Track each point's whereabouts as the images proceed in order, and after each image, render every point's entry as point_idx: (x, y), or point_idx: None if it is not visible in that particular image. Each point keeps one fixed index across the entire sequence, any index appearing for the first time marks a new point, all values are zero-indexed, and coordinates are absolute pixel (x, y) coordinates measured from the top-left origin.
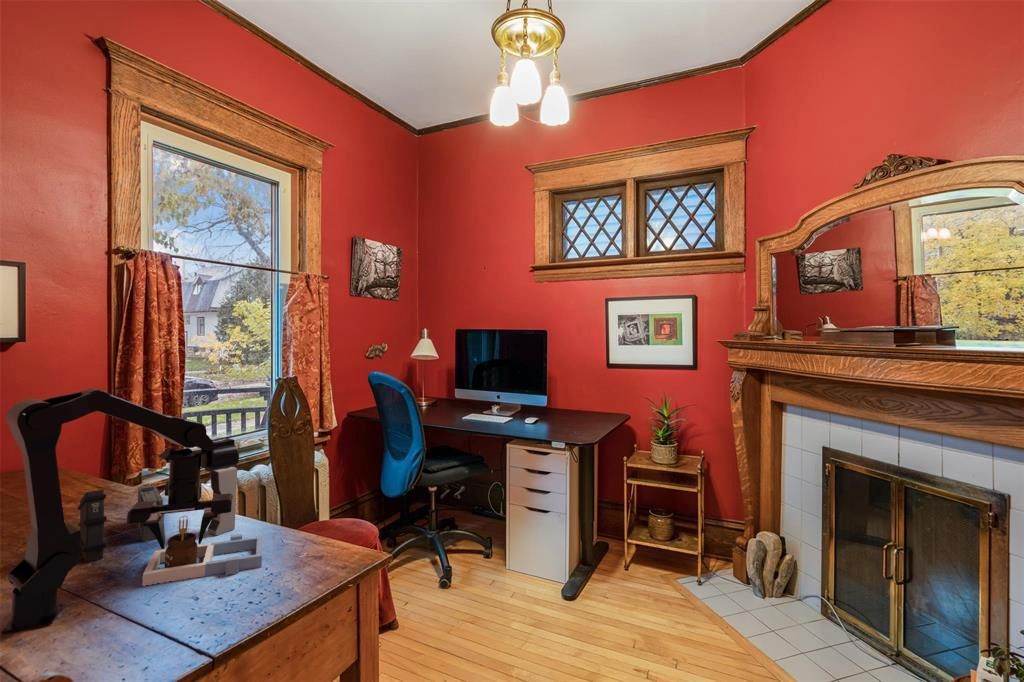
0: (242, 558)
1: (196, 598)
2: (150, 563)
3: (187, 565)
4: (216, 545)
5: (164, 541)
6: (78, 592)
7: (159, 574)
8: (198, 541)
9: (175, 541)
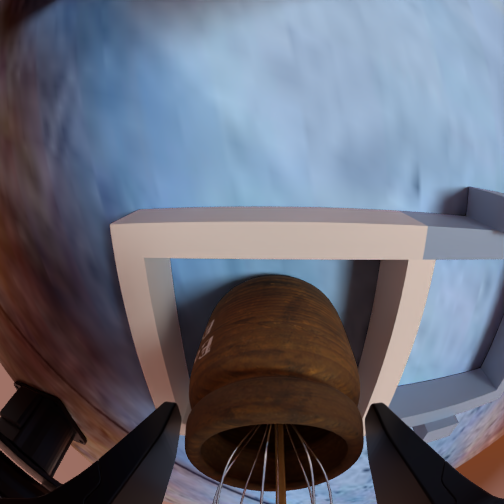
0: (463, 411)
1: None
2: (150, 371)
3: None
4: (443, 257)
5: (168, 446)
6: (39, 349)
7: None
8: (367, 441)
9: (243, 487)
